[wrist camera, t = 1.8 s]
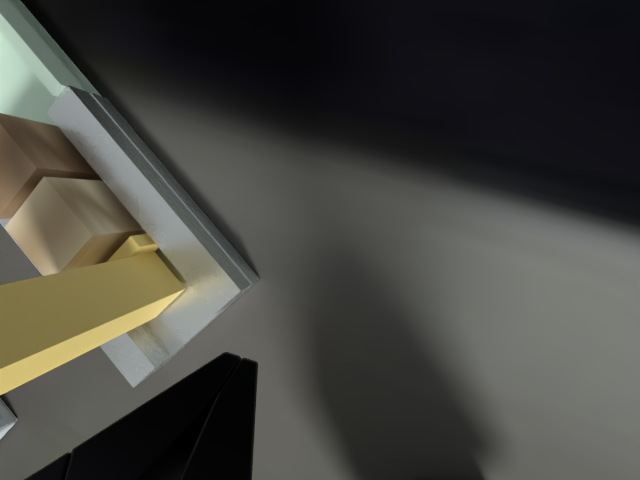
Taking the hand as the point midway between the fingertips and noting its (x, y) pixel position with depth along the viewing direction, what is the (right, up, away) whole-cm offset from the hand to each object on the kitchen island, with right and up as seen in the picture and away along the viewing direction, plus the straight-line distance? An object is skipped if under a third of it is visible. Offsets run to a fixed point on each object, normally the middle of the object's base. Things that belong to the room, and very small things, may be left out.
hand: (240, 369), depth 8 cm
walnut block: (-15, +7, +13) cm, 21 cm away
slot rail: (-11, +3, +14) cm, 18 cm away
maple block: (-12, +4, +13) cm, 18 cm away
